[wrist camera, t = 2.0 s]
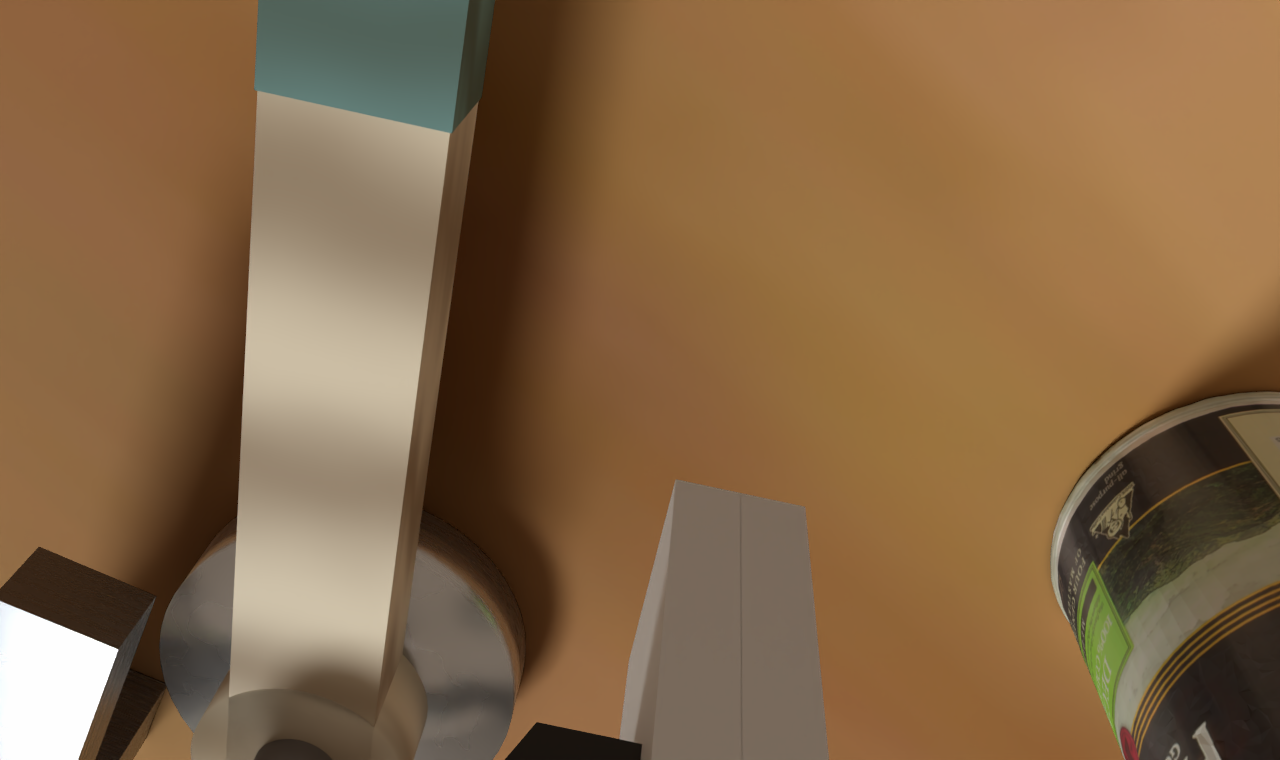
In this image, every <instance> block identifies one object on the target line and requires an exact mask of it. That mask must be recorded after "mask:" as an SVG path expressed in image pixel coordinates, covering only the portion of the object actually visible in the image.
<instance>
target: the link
mask: <svg viewBox="0 0 1280 760" xmlns="http://www.w3.org/2000/svg"><path fill="white" fill-rule="evenodd" d="M494 4H495V0H258V22H257V43H256V65H255V87H254V90H256V91H258V94H257V115H256V136H255V157H254V178H253V199H252V220H251V241H250V262H249V283H248V304H247V325H246V346H245V367H244V388H243V410H242V431H241V452H240V473H239V494H238V515H237V536H236V557H235V578H234V599H233V620H232V641H231V662H230V669H229V671H228V673H227V674H226V676H225V678H224V680H223V681H222V683H221V685H220V687H219V688H218V690H217V692H216V694H215V695H214V697H213V699H212V701H211V702H210V704H209V706H208V708H207V709H206V711H205V713H204V714H203V716H202V718H201V720H200V721H199V723H198V725H197V727H196V729H195V731H194V734H193V738H192V743H191V760H414V757H415V754H416V751H417V748H418V745H419V742H420V739H421V736H422V733H423V730H424V727H425V723H426V719H427V712H428V704H427V696H426V692H425V688H424V685H423V683H422V681H421V679H420V677H419V675H418V673H417V672H416V670H415V668H414V667H413V666H412V664H411V663H410V662H409V661H408V659H407V658H406V657H405V656H404V655H403V647H404V639H405V632H406V625H407V618H408V610H409V603H410V596H411V588H412V581H413V574H414V567H415V559H416V552H417V545H418V538H419V530H420V523H421V516H422V508H423V501H424V494H425V487H426V479H427V472H428V465H429V458H430V450H431V443H432V436H433V429H434V421H435V414H436V407H437V399H438V392H439V385H440V378H441V370H442V363H443V356H444V349H445V341H446V334H447V327H448V319H449V312H450V305H451V298H452V290H453V283H454V276H455V269H456V261H457V254H458V247H459V239H460V232H461V225H462V218H463V210H464V203H465V196H466V189H467V181H468V174H469V167H470V160H471V152H472V145H473V138H474V130H475V123H476V116H477V109H478V101H479V100H480V99H481V98H482V91H483V84H484V77H485V69H486V62H487V55H488V48H489V41H490V33H491V26H492V19H493V12H494Z"/></svg>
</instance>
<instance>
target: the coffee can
mask: <svg viewBox="0 0 1280 760" xmlns="http://www.w3.org/2000/svg"><path fill="white" fill-rule="evenodd" d="M1050 565H1051V580H1052V585H1053V588H1054V592H1055V595H1056V598H1057V601H1058V603H1059V605H1060V607H1061V609H1062V611H1063V613H1064V615H1065V617H1066V618H1067V620H1068V622H1069V623H1070V624H1071V627H1072V630H1073V632H1074V635H1075V637H1076V640H1077V642H1078V645H1079V647H1080V650H1081V653H1082V656H1083V658H1084V661H1085V663H1086V665H1087V667H1088V670H1089V672H1090V675H1091V677H1092V680H1093V682H1094V684H1095V687H1096V689H1097V692H1098V694H1099V697H1100V699H1101V702H1102V704H1103V707H1104V709H1105V712H1106V714H1107V717H1108V719H1109V722H1110V724H1111V727H1112V729H1113V732H1114V734H1115V737H1116V739H1117V742H1118V744H1119V747H1120V749H1121V752H1122V754H1123V757H1124V759H1125V760H1280V392H1248V393H1238V394H1232V395H1226V396H1219V397H1212V398H1208V399H1204V400H1201V401H1199V402H1196V403H1194V404H1191V405H1188V406H1185V407H1182V408H1178V409H1175V410H1173V411H1170V412H1168V413H1166V414H1164V415H1162V416H1160V417H1157V418H1155V419H1153V420H1151V421H1149V422H1147V423H1145V424H1144V425H1142V426H1140V427H1139V428H1137V429H1135V430H1134V431H1132V432H1131V433H1129V434H1128V435H1127V436H1125V437H1124V438H1122V439H1121V440H1120V441H1118V442H1117V443H1116V444H1114V445H1113V446H1112V447H1111V448H1110V449H1108V450H1107V451H1106V452H1105V453H1104V454H1103V455H1102V456H1101V457H1100V458H1099V459H1098V460H1097V461H1096V462H1095V463H1094V464H1093V465H1092V466H1091V467H1090V468H1089V469H1088V470H1087V471H1086V472H1085V473H1084V475H1083V476H1082V477H1081V478H1080V480H1079V481H1078V483H1077V484H1076V486H1075V487H1074V489H1073V491H1072V492H1071V494H1070V496H1069V497H1068V499H1067V501H1066V503H1065V505H1064V507H1063V509H1062V511H1061V513H1060V515H1059V518H1058V521H1057V524H1056V527H1055V530H1054V535H1053V540H1052V546H1051V561H1050Z"/></svg>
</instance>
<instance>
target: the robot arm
mask: <svg viewBox="0 0 1280 760" xmlns="http://www.w3.org/2000/svg"><path fill="white" fill-rule="evenodd" d="M505 760H829V756H828V745H827V735H826V724H825V714H824V703H823V692H822V682H821V671H820V661H819V650H818V639H817V629H816V618H815V607H814V597H813V586H812V576H811V565H810V554H809V544H808V533H807V523H806V512H805V507H803V506H798V505H794V504H789V503H784V502H779V501H775V500H770V499H765V498H761V497H756V496H751V495H747V494H742V493H737V492H732V491H728V490H723V489H718V488H714V487H709V486H704V485H699V484H695V483H690V482H685V481H681V480H675V484H674V488H673V492H672V496H671V500H670V504H669V508H668V511H667V515H666V519H665V523H664V527H663V531H662V535H661V539H660V542H659V546H658V550H657V554H656V558H655V562H654V566H653V570H652V573H651V577H650V581H649V585H648V589H647V593H646V597H645V601H644V605H643V608H642V612H641V616H640V620H639V624H638V628H637V632H636V636H635V639H634V643H633V647H632V651H631V655H630V659H629V665H628V673H627V682H626V690H625V698H624V706H623V714H622V722H621V731H620V739H615V738H611V737H606V736H601V735H596V734H591V733H586V732H581V731H577V730H572V729H567V728H562V727H557V726H552V725H547V724H543V723H538V722H537V723H536V724H535V725H534V726H533V727H532V728H531V730H530V731H529V732H528V733H527V734H526V735H525V737H524V738H523V739H522V740H521V741H520V743H519V744H518V745H517V746H516V747H515V748H514V750H513V751H512V752H511V753H510V754H509V755H508V757H507V758H506V759H505Z"/></svg>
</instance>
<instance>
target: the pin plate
mask: <svg viewBox="0 0 1280 760" xmlns="http://www.w3.org/2000/svg"><path fill="white" fill-rule="evenodd" d="M236 536H237V517H236V518H234V519H233V520H231V521H230V522H229V523H228V524H227V525H226V526H225V527H224V528H223V529H222V530H221V531H220V532H219V533H218V534H217V535H216V536H215V537H214V539H213V540H212V542H211V543H210V544H209V546H208V547H207V548H206V550H205V551H204V553H203V554H202V555H201V557H200V558H199V560H198V561H197V563H196V564H195V566H194V567H193V568H192V570H191V571H190V573H189V574H188V576H187V577H186V578H185V580H184V581H183V583H182V584H181V586H180V587H179V589H178V590H177V591H176V593H175V594H174V596H173V598H172V600H171V602H170V604H169V606H168V608H167V610H166V613H165V616H164V620H163V623H162V627H161V634H160V644H159V649H160V662H161V668H162V672H163V676H164V680H165V684H166V686H167V689H168V691H169V694H170V696H171V699H172V701H173V702H174V704H175V706H176V708H177V709H178V711H179V713H180V715H181V717H182V718H183V719H184V721H185V722H186V723H187V725H188V726H189V727H190V729H191V730H192V731H193V733H194V731H195V729H196V727H197V725H198V723H199V721H200V720H201V718H202V716H203V714H204V713H205V711H206V709H207V708H208V706H209V704H210V702H211V701H212V699H213V697H214V695H215V694H216V692H217V690H218V688H219V687H220V685H221V683H222V681H223V680H224V678H225V676H226V674H227V673H228V671H229V669H230V662H231V641H232V620H233V599H234V578H235V557H236ZM525 654H526V641H525V630H524V625H523V620H522V616H521V612H520V610H519V607H518V604H517V602H516V599H515V597H514V595H513V593H512V591H511V589H510V587H509V586H508V584H507V582H506V580H505V579H504V577H503V576H502V575H501V573H500V572H499V570H498V569H497V568H496V566H495V565H494V564H493V562H492V561H491V560H490V559H489V558H488V557H487V556H486V555H485V554H484V553H483V552H482V551H481V550H480V549H479V548H478V547H477V546H476V545H475V544H474V543H473V542H472V541H470V540H469V539H468V538H467V537H465V536H464V535H463V534H462V533H461V532H459V531H458V530H456V529H455V528H453V527H452V526H450V525H449V524H447V523H446V522H444V521H443V520H441V519H439V518H437V517H435V516H433V515H431V514H429V513H428V512H426V511H424V510H422V516H421V523H420V530H419V538H418V545H417V552H416V559H415V567H414V574H413V581H412V588H411V596H410V603H409V610H408V618H407V625H406V632H405V639H404V647H403V655H404V656H405V657H406V658H407V659H408V661H409V662H410V663H411V664H412V666H413V667H414V668H415V670H416V672H417V673H418V675H419V677H420V679H421V681H422V683H423V685H424V688H425V692H426V696H427V704H428V712H427V719H426V723H425V727H424V730H423V733H422V736H421V739H420V742H419V745H418V748H417V751H416V754H415V757H414V760H492V759H493V758H494V757H495V755H496V754H497V753H498V751H499V749H500V747H501V745H502V743H503V741H504V739H505V737H506V735H507V732H508V729H509V725H510V722H511V718H512V714H513V710H514V706H515V702H516V698H517V693H518V689H519V685H520V681H521V677H522V673H523V669H524V662H525Z"/></svg>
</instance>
